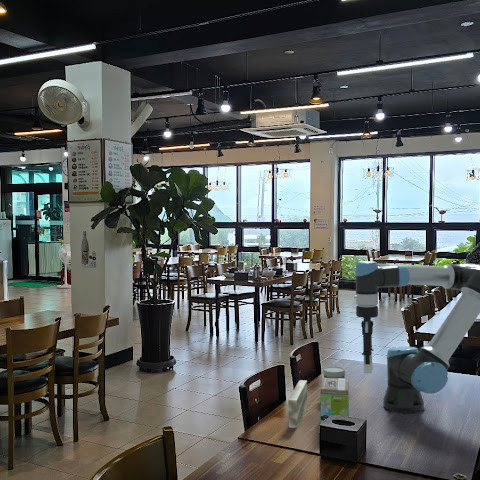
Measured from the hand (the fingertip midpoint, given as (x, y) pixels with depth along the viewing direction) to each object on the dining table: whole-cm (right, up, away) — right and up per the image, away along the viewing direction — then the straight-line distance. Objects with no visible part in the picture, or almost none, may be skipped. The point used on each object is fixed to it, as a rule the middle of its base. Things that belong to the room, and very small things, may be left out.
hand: (368, 371), depth 195 cm
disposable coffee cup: (-6, -19, +31) cm, 37 cm away
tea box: (-11, -20, +4) cm, 23 cm away
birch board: (-23, -20, +12) cm, 33 cm away
